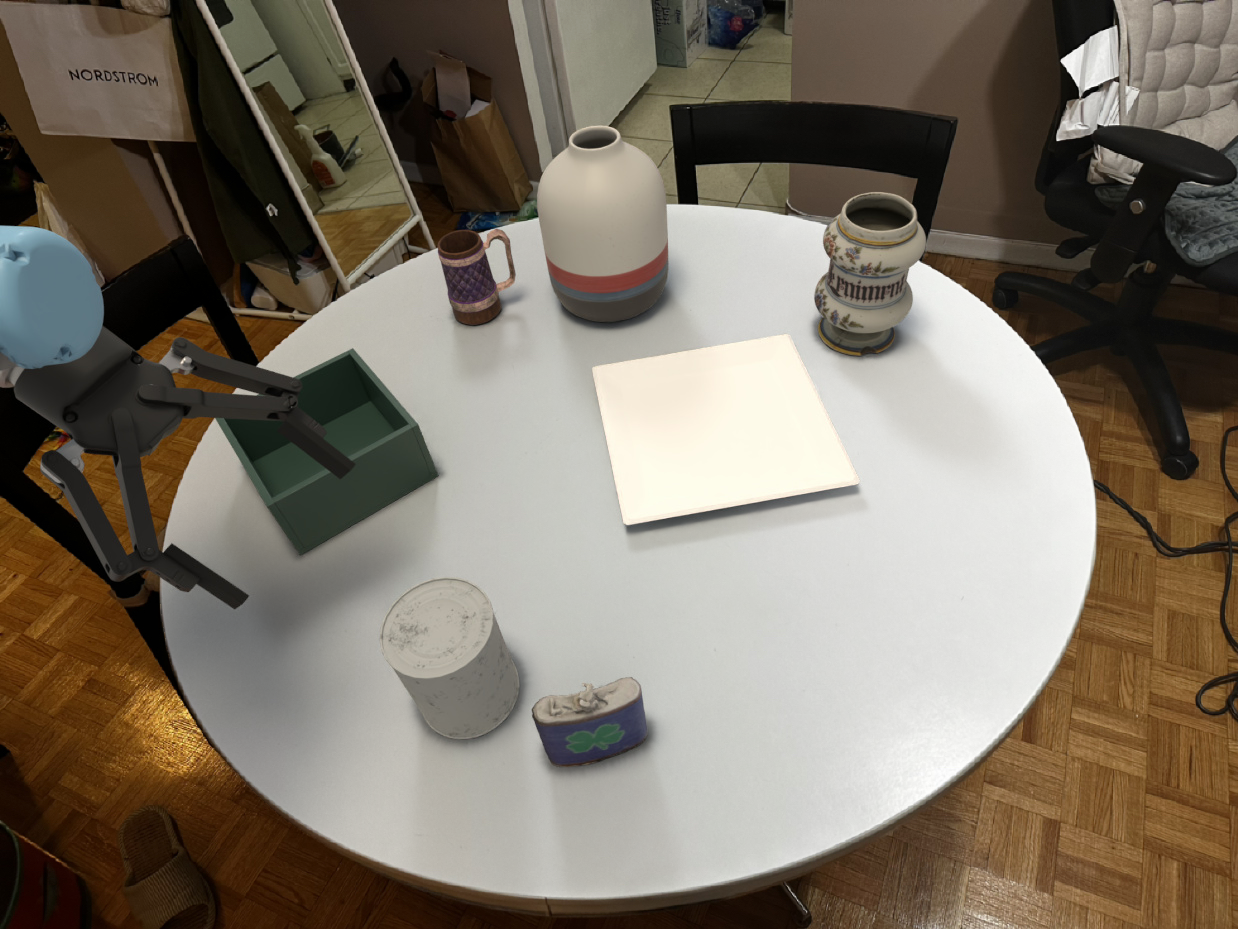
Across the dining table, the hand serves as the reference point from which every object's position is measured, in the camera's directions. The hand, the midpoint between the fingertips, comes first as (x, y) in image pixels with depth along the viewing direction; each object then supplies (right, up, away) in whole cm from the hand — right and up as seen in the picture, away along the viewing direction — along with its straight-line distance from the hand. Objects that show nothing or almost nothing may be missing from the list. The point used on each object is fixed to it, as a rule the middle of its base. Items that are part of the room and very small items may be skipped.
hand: (299, 533), depth 63 cm
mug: (+7, +28, +51) cm, 59 cm away
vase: (+25, +30, +51) cm, 64 cm away
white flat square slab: (+37, +9, +31) cm, 50 cm away
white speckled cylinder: (+11, -16, +12) cm, 23 cm away
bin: (-8, +5, +32) cm, 33 cm away
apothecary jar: (+57, +23, +41) cm, 74 cm away
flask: (+24, -20, +7) cm, 32 cm away
